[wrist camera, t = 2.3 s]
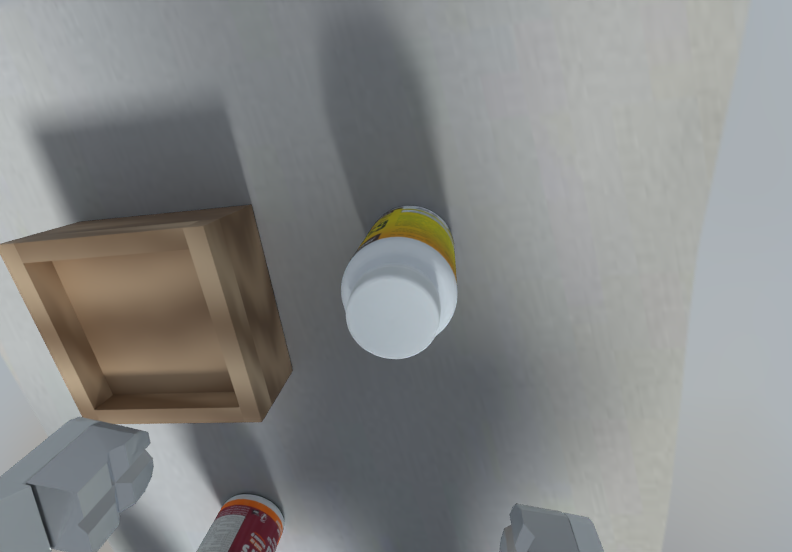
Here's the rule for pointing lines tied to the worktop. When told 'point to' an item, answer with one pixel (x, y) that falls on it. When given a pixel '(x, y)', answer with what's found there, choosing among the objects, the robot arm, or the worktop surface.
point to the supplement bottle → (401, 283)
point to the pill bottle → (245, 526)
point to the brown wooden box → (157, 315)
